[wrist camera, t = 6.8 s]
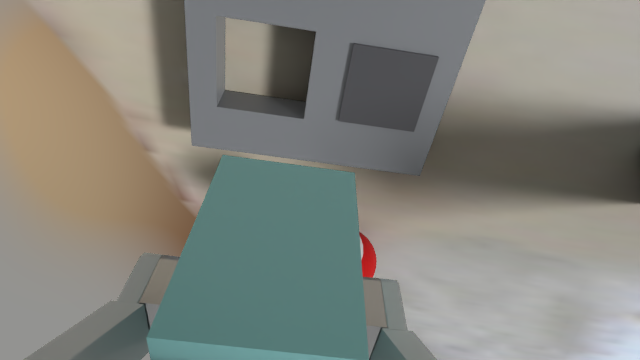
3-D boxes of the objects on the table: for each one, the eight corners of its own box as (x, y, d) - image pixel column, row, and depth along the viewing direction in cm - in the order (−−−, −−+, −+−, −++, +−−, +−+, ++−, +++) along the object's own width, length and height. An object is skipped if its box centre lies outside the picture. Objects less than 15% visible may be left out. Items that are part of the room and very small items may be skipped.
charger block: (222, 154, 12) (142, 347, 7) (354, 172, 12) (369, 371, 7) (222, 248, 14) (162, 443, 9) (333, 261, 14) (333, 458, 9)
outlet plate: (193, -106, 21) (177, -105, 19) (487, -54, 22) (504, -46, 20) (201, 127, 29) (191, 147, 27) (413, 156, 30) (420, 177, 28)
